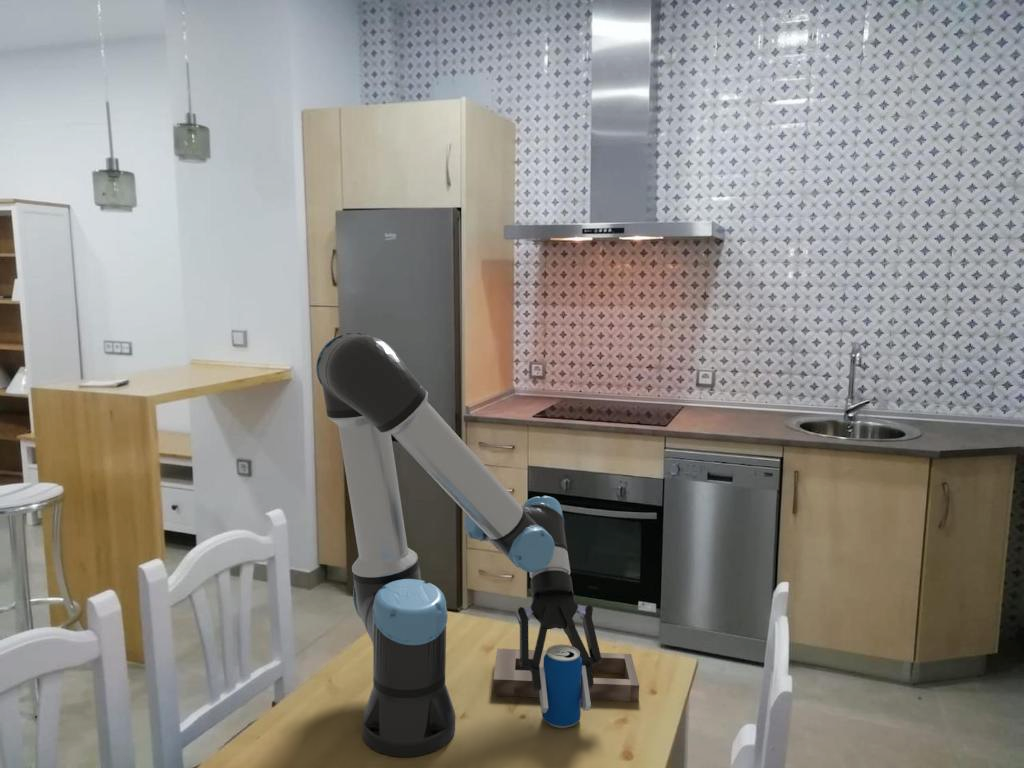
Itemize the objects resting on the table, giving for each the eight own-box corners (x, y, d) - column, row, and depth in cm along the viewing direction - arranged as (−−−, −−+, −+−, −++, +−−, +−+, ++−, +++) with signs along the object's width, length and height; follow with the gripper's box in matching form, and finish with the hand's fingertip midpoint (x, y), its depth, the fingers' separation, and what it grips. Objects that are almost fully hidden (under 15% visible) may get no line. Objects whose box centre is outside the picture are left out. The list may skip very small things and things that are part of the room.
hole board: (492, 695, 133) (493, 679, 133) (496, 663, 145) (497, 648, 145) (638, 701, 132) (639, 685, 132) (630, 668, 144) (631, 653, 144)
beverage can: (577, 733, 122) (580, 663, 121) (539, 727, 123) (541, 658, 122) (582, 712, 128) (584, 645, 127) (545, 707, 130) (547, 641, 128)
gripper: (597, 584, 140) (618, 712, 126) (496, 587, 138) (505, 718, 123) (606, 566, 135) (628, 699, 120) (500, 569, 132) (510, 705, 118)
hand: (566, 709), depth 122 cm, fingers closed on beverage can, 6 cm apart
